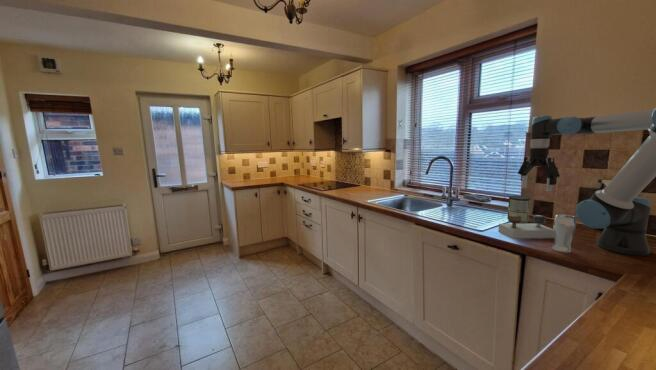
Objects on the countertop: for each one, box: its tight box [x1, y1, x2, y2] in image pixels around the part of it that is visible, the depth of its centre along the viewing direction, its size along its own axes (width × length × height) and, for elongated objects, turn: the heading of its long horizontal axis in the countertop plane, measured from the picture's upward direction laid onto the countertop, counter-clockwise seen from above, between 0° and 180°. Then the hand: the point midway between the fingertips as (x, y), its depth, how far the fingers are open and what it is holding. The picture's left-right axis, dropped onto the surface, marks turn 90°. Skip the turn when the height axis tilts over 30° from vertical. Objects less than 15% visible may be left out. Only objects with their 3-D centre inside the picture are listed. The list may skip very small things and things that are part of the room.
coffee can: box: [507, 195, 531, 224], centre depth 156 cm, size 10×10×14 cm
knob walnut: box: [507, 215, 522, 228], centre depth 131 cm, size 5×5×6 cm
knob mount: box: [498, 222, 554, 239], centre depth 132 cm, size 11×20×4 cm, turn 89°
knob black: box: [532, 214, 547, 227], centre depth 131 cm, size 5×5×6 cm
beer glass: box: [551, 213, 577, 254], centre depth 111 cm, size 7×7×15 cm
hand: (535, 189), depth 135 cm, fingers open, 13 cm apart
